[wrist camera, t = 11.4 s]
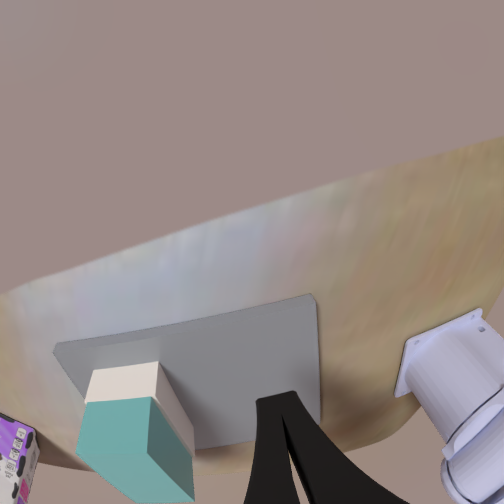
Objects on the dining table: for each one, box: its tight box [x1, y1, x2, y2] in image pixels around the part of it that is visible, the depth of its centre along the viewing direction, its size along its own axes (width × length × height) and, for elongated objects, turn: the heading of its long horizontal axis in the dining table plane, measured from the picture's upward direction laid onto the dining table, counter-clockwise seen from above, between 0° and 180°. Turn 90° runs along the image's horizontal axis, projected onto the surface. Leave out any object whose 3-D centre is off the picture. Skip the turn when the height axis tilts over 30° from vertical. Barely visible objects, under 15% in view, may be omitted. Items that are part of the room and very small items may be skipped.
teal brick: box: [75, 396, 195, 503], centre depth 16 cm, size 4×8×4 cm, turn 10°
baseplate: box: [53, 294, 320, 457], centre depth 20 cm, size 18×14×4 cm
